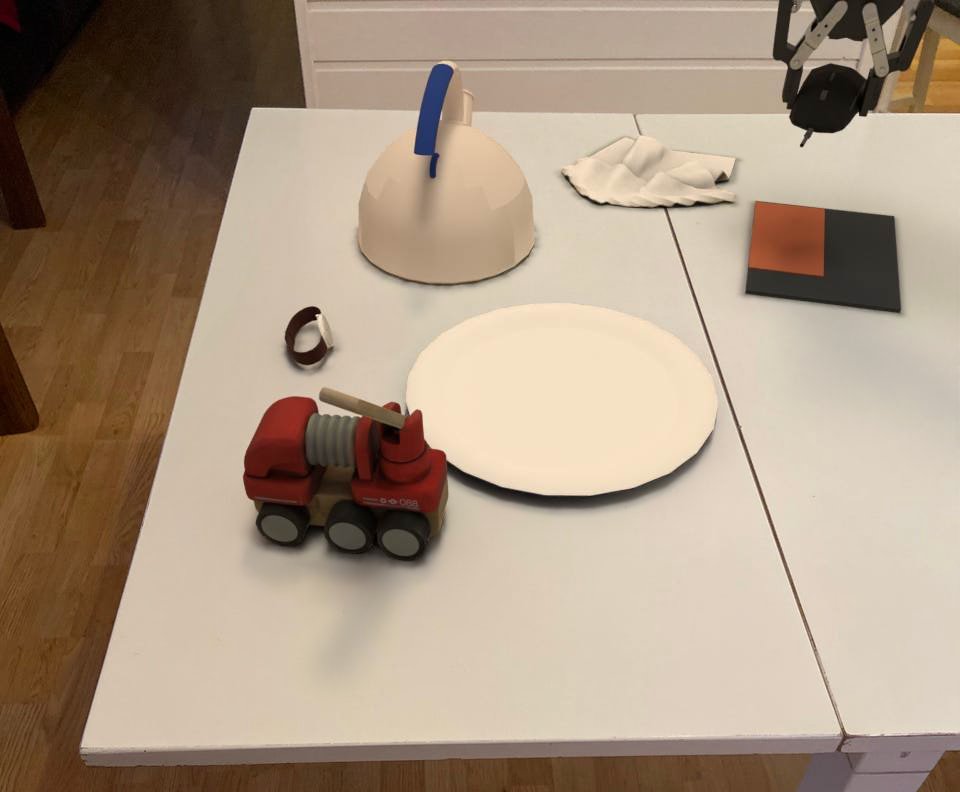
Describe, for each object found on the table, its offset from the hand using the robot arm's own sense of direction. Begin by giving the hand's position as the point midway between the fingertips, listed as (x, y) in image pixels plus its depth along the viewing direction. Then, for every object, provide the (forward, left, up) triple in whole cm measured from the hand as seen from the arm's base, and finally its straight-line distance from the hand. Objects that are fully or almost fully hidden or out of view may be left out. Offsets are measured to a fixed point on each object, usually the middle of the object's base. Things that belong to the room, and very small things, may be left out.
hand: (826, 109), depth 96 cm
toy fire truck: (+34, +53, -16) cm, 65 cm away
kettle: (+38, +5, -16) cm, 41 cm away
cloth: (+16, -15, -16) cm, 27 cm away
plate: (+20, +32, -16) cm, 41 cm away
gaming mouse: (0, 0, -1) cm, 1 cm away
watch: (+46, +29, -16) cm, 57 cm away
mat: (-4, -1, -15) cm, 16 cm away
